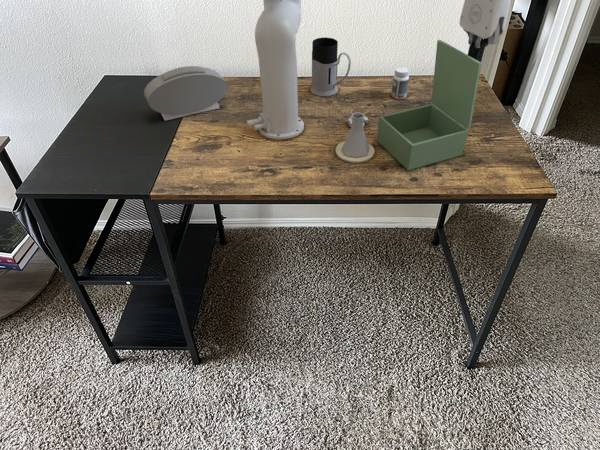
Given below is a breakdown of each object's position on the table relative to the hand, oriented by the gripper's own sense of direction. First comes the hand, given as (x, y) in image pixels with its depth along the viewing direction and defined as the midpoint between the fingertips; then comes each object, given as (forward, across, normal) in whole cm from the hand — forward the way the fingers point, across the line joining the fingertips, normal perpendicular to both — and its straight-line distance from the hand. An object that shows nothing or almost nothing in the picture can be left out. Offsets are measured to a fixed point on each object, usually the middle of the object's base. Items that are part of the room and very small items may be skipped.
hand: (473, 62), depth 107 cm
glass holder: (+21, -38, -18) cm, 47 cm away
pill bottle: (+21, -27, -1) cm, 34 cm away
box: (+21, 0, -12) cm, 24 cm away
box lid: (+5, 0, -5) cm, 7 cm away
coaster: (+21, -5, -28) cm, 35 cm away
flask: (+20, -5, -28) cm, 34 cm away
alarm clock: (+21, -45, -62) cm, 79 cm away
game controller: (+21, -20, -21) cm, 36 cm away
